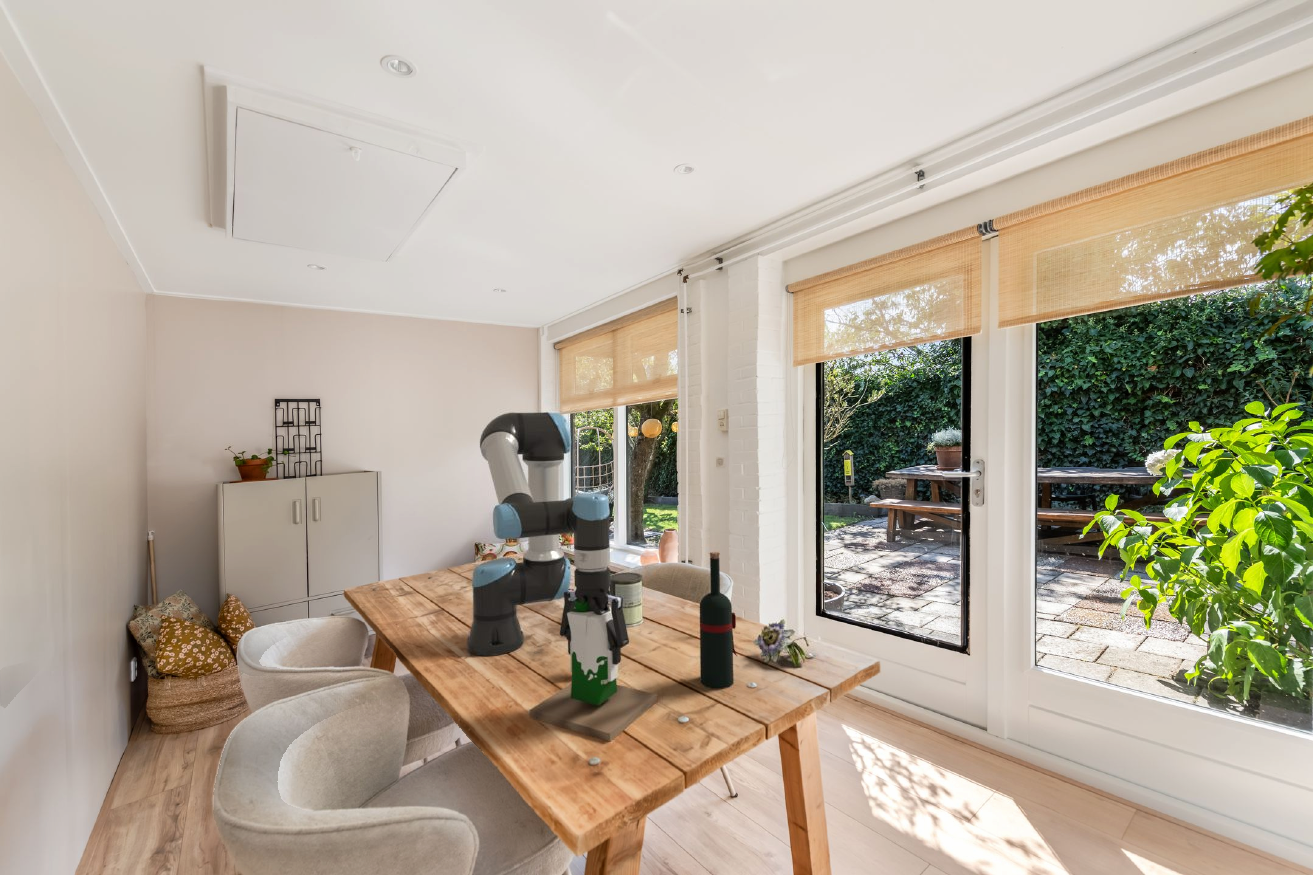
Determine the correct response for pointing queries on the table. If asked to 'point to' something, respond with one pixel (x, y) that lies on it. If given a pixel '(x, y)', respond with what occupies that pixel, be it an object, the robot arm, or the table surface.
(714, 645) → the wine bottle
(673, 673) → the table surface
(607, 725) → the walnut board
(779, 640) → the passion flower
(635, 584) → the coffee can
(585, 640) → the soya milk
